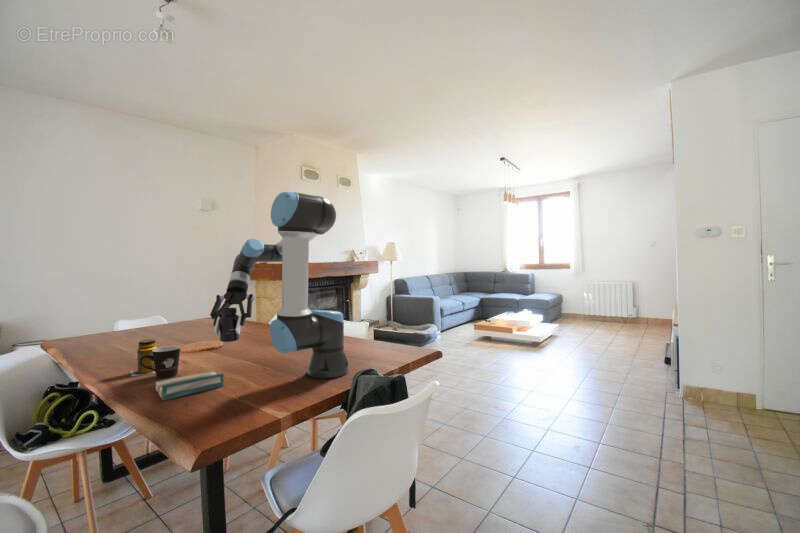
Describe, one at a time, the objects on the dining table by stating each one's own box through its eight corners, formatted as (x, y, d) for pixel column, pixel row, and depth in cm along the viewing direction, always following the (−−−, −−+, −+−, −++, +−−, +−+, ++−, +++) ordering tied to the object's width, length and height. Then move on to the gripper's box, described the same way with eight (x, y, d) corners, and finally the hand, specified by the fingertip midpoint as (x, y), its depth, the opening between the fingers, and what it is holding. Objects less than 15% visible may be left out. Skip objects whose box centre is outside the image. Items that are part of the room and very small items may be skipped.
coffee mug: (183, 371, 134) (183, 345, 134) (177, 378, 126) (176, 350, 126) (148, 374, 130) (147, 348, 130) (138, 381, 122) (138, 353, 122)
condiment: (159, 371, 134) (159, 340, 133) (132, 377, 128) (131, 344, 128) (156, 367, 139) (155, 338, 139) (129, 372, 133) (128, 341, 133)
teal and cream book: (223, 386, 116) (223, 373, 116) (163, 400, 104) (162, 386, 104) (212, 377, 126) (212, 365, 126) (155, 389, 114) (155, 376, 114)
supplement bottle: (231, 342, 126) (229, 309, 126) (215, 341, 128) (214, 309, 127) (244, 338, 133) (243, 307, 132) (229, 337, 134) (228, 306, 134)
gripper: (265, 290, 146) (257, 337, 131) (215, 291, 143) (200, 340, 128) (262, 278, 141) (253, 325, 125) (209, 279, 138) (194, 328, 122)
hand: (226, 332), depth 127 cm, fingers closed on supplement bottle, 7 cm apart
